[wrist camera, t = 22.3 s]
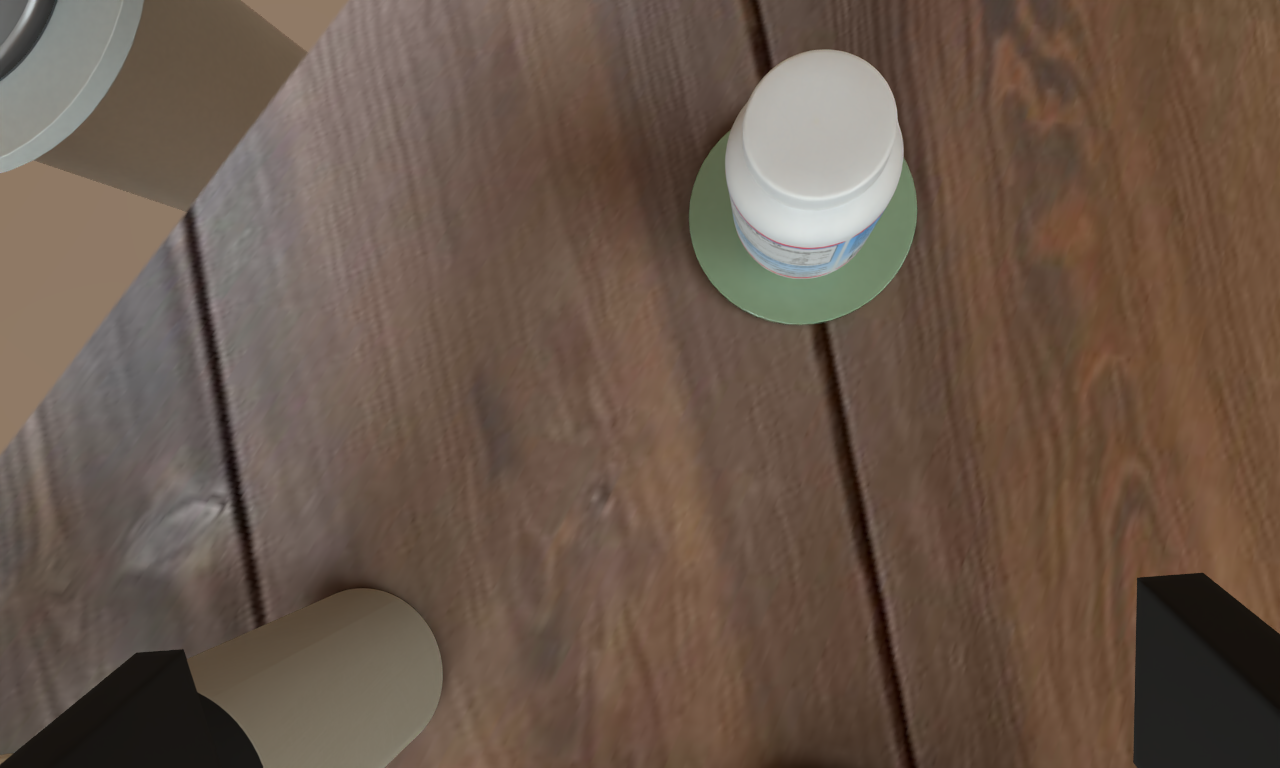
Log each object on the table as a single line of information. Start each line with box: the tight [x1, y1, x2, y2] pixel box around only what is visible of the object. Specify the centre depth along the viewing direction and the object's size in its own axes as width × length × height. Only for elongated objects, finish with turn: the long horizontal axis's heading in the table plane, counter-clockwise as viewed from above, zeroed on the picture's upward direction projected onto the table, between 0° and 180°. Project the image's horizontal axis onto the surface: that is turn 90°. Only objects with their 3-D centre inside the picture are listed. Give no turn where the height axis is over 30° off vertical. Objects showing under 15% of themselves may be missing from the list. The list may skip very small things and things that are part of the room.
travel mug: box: [0, 588, 443, 768], centre depth 28 cm, size 8×8×18 cm
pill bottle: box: [725, 49, 904, 279], centre depth 29 cm, size 6×6×11 cm
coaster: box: [689, 130, 917, 325], centre depth 34 cm, size 10×10×1 cm
